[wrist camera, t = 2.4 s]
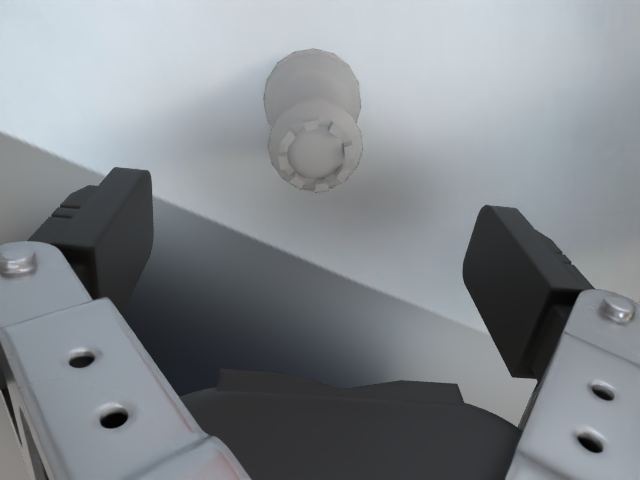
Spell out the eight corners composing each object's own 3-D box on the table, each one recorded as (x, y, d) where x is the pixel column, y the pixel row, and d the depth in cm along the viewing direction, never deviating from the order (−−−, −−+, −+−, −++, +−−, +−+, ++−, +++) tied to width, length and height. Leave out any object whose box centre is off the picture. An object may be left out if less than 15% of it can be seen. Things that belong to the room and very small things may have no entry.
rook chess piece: (310, 160, 25) (313, 241, 18) (244, 95, 23) (219, 155, 16) (379, 99, 24) (411, 160, 17) (314, 24, 22) (320, 57, 15)
